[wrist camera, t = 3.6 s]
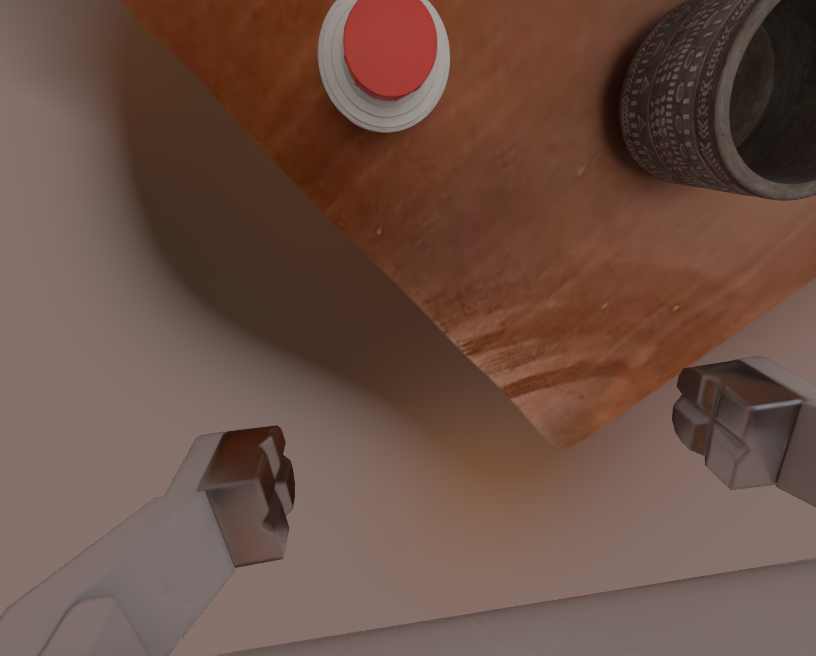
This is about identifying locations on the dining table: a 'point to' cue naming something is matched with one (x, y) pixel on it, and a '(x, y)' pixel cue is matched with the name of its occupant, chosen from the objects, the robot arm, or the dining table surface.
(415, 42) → the cap
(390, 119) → the bottle
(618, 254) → the dining table surface
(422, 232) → the dining table surface
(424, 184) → the dining table surface
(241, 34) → the dining table surface
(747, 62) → the planter
